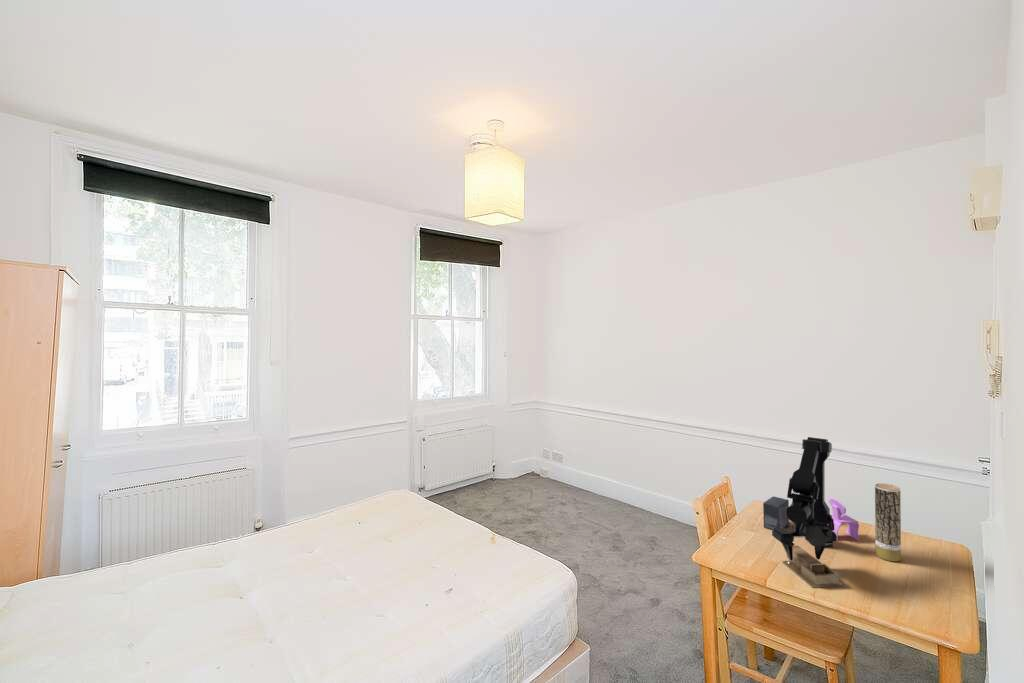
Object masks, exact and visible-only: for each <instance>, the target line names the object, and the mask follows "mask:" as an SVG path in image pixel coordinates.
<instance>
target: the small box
mask: <svg viewBox="0 0 1024 683" xmlns="http://www.w3.org/2000/svg"><path fill="white" fill-rule="evenodd" d="M762 505H763V506H762V509H763V510H762V513H763V528H764V529H766V530H771V531H772V530H773V529H774V528H785V529H786V528H787V527H788V526H790V520H789V518H788V517H787V514H786V511H787V509H788V507H789V506H790V503H789V499H788V498H782V497H777V496H771V497H770V498H768V499H767V500H765V501H764V502H763V503H762Z"/></svg>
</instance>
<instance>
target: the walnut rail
mask: <svg viewBox="0 0 1024 683" xmlns="http://www.w3.org/2000/svg"><path fill="white" fill-rule="evenodd" d="M792 549H793V559H792V562H794V563H795V564H796V565H797V566H798V567H800V568H801V564H804V565H805V566H806V567H807V568H809V569H810V570H811V571H812V572H814V573H815V574H824V564H825V563H822V562H821V561H819V560H818V559H817V558H816V557H814V556H813V555H812V554H810V553H809V552H808V551H806V550H805V549H803V548H802V547H801V546H799V545H793V547H792ZM786 558H788V559H789V557H788V555H787V554H786Z"/></svg>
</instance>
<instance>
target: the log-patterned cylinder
mask: <svg viewBox="0 0 1024 683" xmlns="http://www.w3.org/2000/svg"><path fill="white" fill-rule="evenodd" d="M901 502H902V501H901V488H900V487H899V486H896V485H893V484H889V483H875V484H874V513H875V514H874V518H875V519H874V520H875V523H874V525H875V527H874V530H875V535H874V536H875V538H874V539H875V554H876V556H877V557H879V558H880V559H882V560H884V561H888V562H893V563H894V562H896V563H897V562H899V561H900V560H902V540H901V539H902V537H901V535H902V534H901V533H902V530H901V527H902V526H901V525H902V524H901V522H902V520H901V519H902V518H901V508H902V506H901Z"/></svg>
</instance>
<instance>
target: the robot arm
mask: <svg viewBox="0 0 1024 683" xmlns="http://www.w3.org/2000/svg"><path fill="white" fill-rule="evenodd" d="M801 446H802V447H801V448H802V449H801V450H803V452H802V456H801V460H800V464H799V467H798V469H797V470H794V471H793V473H792V476H791V477H789V480H788V488H787V495H786V499H791V500H792V501H791V504H789V507H788V509H787V511H786V514H787V517H788V518H789V522H792V523H793V525H791V526H790V527H791V528H790V529H792V530H793V531H789V530H788V529H786V528H774V529H773V530H771V536H772V537H773V538H775V539H776V540H777V541H778V542H780V543H781V544H782V547H783V549H784V551H785V553H786V556H787V555H788V557H789V558H788V559H789V561H792V559H793V549H792V547H793V546H795V543H794V541H795V538H796V539H798V538H804V540H806V541H807V542H808V543H809V544H810V545H811V546H813V547H814V555H815V559H817V560H818V561H819V560H820V559H821V557H822V555H823V552H824V551H825V549H826V547H834V544H833V543H834V542H838V541H837V535H836V533H835V532H833V530H834V520H833V519H832V515H833V514H831V512H830V511H831V510H830V507H829V505H828V504H827V503H826V501H825V491H826V490H825V467H826V466H825V462H826V461H827V459H828V458H829V457H830V455H831V453H832V450H833V445H832V442H830V441H829V439H827V438H821V437H820V438H817V437H810V436H808V437H807V439H805V438H804V439H802V445H801Z"/></svg>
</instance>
